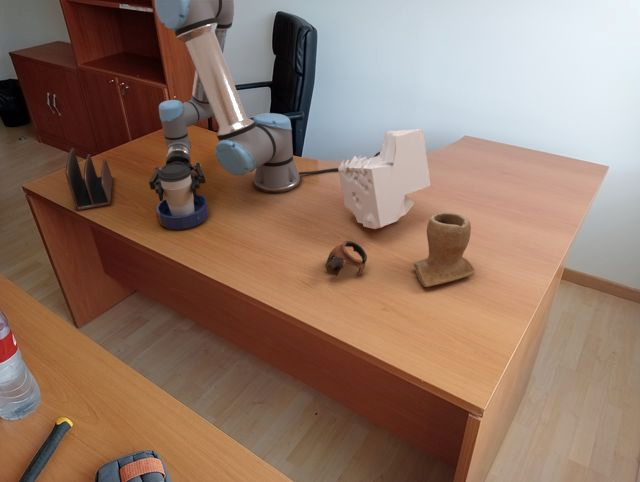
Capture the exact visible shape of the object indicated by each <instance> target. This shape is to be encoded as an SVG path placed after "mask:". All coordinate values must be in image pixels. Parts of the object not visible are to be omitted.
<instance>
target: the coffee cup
mask: <svg viewBox="0 0 640 482" xmlns="http://www.w3.org/2000/svg"><path fill="white" fill-rule="evenodd" d="M160 169H161V170H160V171H159V173H158V175H159V176H158V178H159V179H160V181H161V186H162V189H163V196H164V199H165V198H166V201H167V203H168V206H169V209H170V212H171V215H172V216H184V215H188V214H191V213H194V212H195V209H194V201H193V200H194V197H193V192H192V180H191V175H190V174H191V171H190V168H189V167H187V166H185V165H184V164H183V163H181V162H173V163H171V164H167V165H166V164H165V165H163V166H162V167H161V168H160Z"/></svg>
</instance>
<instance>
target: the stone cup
mask: <svg viewBox="0 0 640 482" xmlns="http://www.w3.org/2000/svg"><path fill="white" fill-rule="evenodd" d="M471 231H472V225H471V221H470V219H469V218H467V217H466V216H464V215H461V214H459V213H456V212H439V213H435V214H433V215H431V216H430V218H429V219H428V222H427V226H426V238H427V245H428V256H427V258H425V259H422V260H418V261H414V262H413V267H414V269H415V273H416V276H417V279H418V281H419V283H420V284H421V286H423V287H424V288H428V287H432V286H437V285H441V284H446V283H451V282H453V281H457V280H461V279H464V278H467V277H469V276H471V275H473V274H475V268H474V266H473V265H472V263H470V261H469V260H468V259H466V258H465V257H463V255H464V253H465V251H466V249H467V247H468V245H469V242H470V239H471Z"/></svg>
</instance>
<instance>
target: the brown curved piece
mask: <svg viewBox="0 0 640 482" xmlns="http://www.w3.org/2000/svg"><path fill="white" fill-rule="evenodd" d="M346 247H348V248H352V249H353V250H352V251H353V252H356V253H357V254H358V255H359V256H360V257H361V259H357V258H355V257H354V256H353V255H351V254H350V253H349V252H348V251H347V248H346ZM367 260H368V255H367V253H366V251H365V250H364V248H363V247H362V246H360V244H359V243H357V242H355V241H351V240H345V241H344V242H343V243H341V244H338V245H336V246H335V247H333V248H332V249H331V251H330V253H329V254H328V257H327V259H326V263H325V270H326V272H327V274H330V275H332V276H336V277H338V275H339V273H340V271H341V270H342V269H343V268H344V265H345V264H347V265H349V266H351V267H355V268H357V269H358V272H357V276H361V275H362V273H363V272H364V270H365V268H366V262H367Z"/></svg>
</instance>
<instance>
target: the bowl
mask: <svg viewBox="0 0 640 482" xmlns="http://www.w3.org/2000/svg"><path fill="white" fill-rule="evenodd" d="M193 201H194V209H195V212H194V213H191V214H188V215H184V216H172V215H171V212H170V209H169V206H168V203H167V201H166V198H165V197H164V198H163V201H160V200H159V202H158V203H157V204H156V207H155V210H156V211H155V212H156V215H157V220H158V222H159V224H160V225H161V226H162V227H164V228H166V229H169V230H173V231H174V230H175V231H182V230H189V229H192V228H194V227H197V226H199V225H201V224H202V223H203V222H205V220H206V219H207V218H208V217H209V213H210V212H209V208H208V201H207V198H206V197H205V196H204V195H202V194H199V193H196V197H194V200H193Z"/></svg>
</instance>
